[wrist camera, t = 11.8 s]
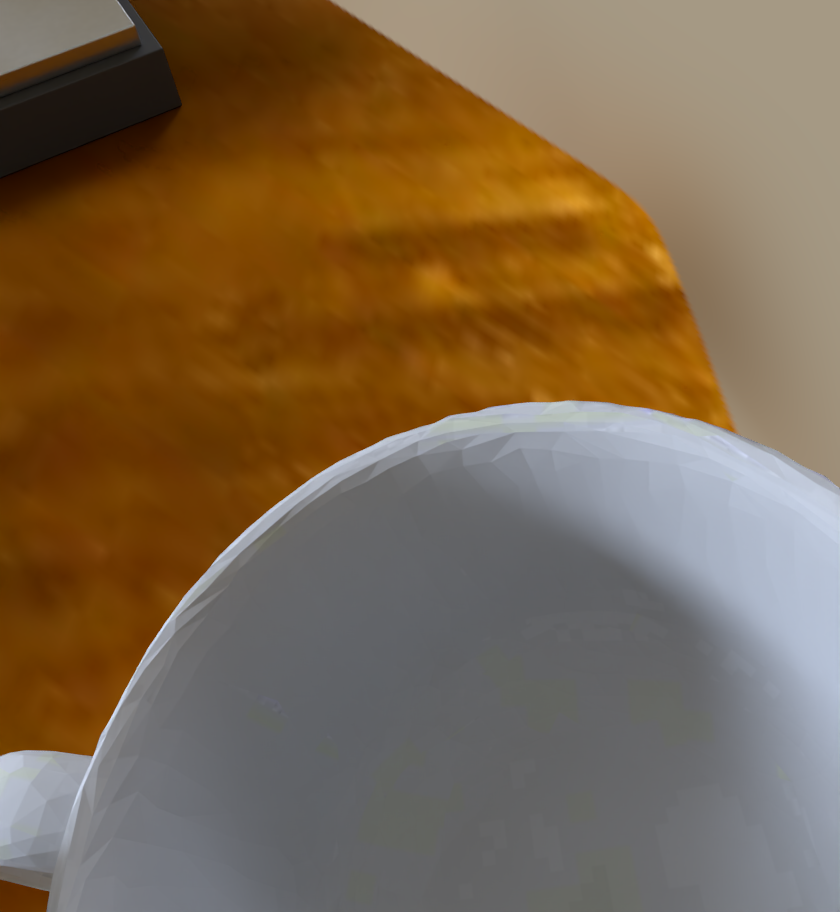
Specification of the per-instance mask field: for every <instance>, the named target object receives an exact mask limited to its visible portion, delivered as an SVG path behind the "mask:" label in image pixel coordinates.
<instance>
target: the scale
mask: <svg viewBox="0 0 840 912" xmlns="http://www.w3.org/2000/svg"><path fill="white" fill-rule="evenodd" d="M181 105H182V103H181V100H180V97H179V94H178V92H177V89H176V86H175V83H174V80H173V77H172V74H171V71H170V68H169V65H168V62H167V59H166V56H165V53H164V50H163V48H162V47H161V45H160V44H159V43H158V41H157V40H156V38H155V37H154V36H153V34H152V33H151V31H150V30H149V29H148V27H147V26H146V24H145V23H144V22H143V20H142V19H141V17H140V16H139V15H138V13H137V12H136V10H135V9H134V8H133V6H132V5H131V4H130V2H129V1H128V0H0V178H1V177H3V176H6V175H8V174H11V173H13V172H16V171H18V170H21V169H24V168H26V167H29V166H31V165H34V164H36V163H39V162H41V161H44V160H46V159H49V158H51V157H54V156H56V155H59V154H61V153H64V152H66V151H69V150H71V149H74V148H76V147H79V146H81V145H84V144H86V143H89V142H91V141H94V140H96V139H99V138H101V137H104V136H106V135H109V134H111V133H114V132H116V131H119V130H121V129H124V128H126V127H129V126H131V125H134V124H136V123H139V122H141V121H144V120H146V119H149V118H151V117H154V116H156V115H159V114H161V113H164V112H166V111H169V110H171V109H174V108H176V107H179V106H181Z"/></svg>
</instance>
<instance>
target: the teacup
mask: <svg viewBox="0 0 840 912" xmlns="http://www.w3.org/2000/svg"><path fill="white" fill-rule="evenodd" d="M0 879H1V880H5V881H9V882H13V883H18V884H22V885H26V886H30V887H34V888H38V889H42V890H46V891H50V894H49V900H48V906H47V912H840V488H839V487H837V486H836V485H835V484H833V483H832V482H831V481H830V480H829V479H828V478H827V477H826V476H823V475H821V474H819V473H817V472H814V471H812V470H810V469H808V468H805V467H803V466H801V465H800V464H798V463H797V462H795V461H793V460H791V459H790V458H788V457H787V456H785V455H783V454H782V453H780V452H778V451H777V450H774V449H772V448H769V447H767V446H765V445H762V444H759V443H757V442H755V441H752V440H750V439H747V438H745V437H743V436H740V435H738V434H735V433H733V432H731V431H728V430H726V429H723V428H720V427H717V426H714V425H711V424H708V423H705V422H702V421H699V420H696V419H687V418H683V417H680V416H677V415H674V414H670V413H665V412H661V411H656V410H652V409H647V408H638V407H628V406H622V405H617V404H612V403H607V402H583V401H562V402H528V403H520V404H511V405H503V406H496V407H489V408H486V409H483V410H481V411H479V412H473V413H465V414H458V415H452V416H448V417H446V418H444V419H442V420H440V421H438V422H436V423H434V424H431V425H427V426H423V427H419V428H416V429H414V430H411V431H408V432H404V433H401V434H398V435H394V436H391V437H387V438H385V439H384V440H382V441H380V442H378V443H377V444H375V445H373V446H370V447H368V448H366V449H364V450H362V451H360V452H358V453H355V454H353V455H351V456H349V457H347V458H345V459H343V460H341V461H339V462H337V463H335V464H334V465H332V466H331V467H329V468H327V469H326V470H324V471H323V472H321V473H319V474H318V475H316V476H315V477H313V478H312V479H310V480H309V481H307V482H306V483H305V484H303V485H302V486H301V487H299V488H298V489H297V490H295V491H294V492H293V493H291V494H290V495H289V496H287V497H286V498H285V499H283V500H282V501H281V502H279V503H278V504H277V505H275V506H274V507H273V508H271V509H270V510H269V511H268V512H267V513H265V514H264V515H263V516H262V517H261V518H259V519H258V520H257V521H256V522H255V523H253V524H252V525H251V526H250V527H249V528H248V529H246V530H245V531H244V532H243V533H242V534H241V535H240V536H239V537H238V538H237V539H236V540H235V541H234V542H233V543H232V544H231V545H230V546H229V547H228V548H227V549H226V550H225V551H224V552H223V553H221V554H220V555H219V556H218V558H217V559H216V560H215V562H214V563H213V564H212V566H211V567H210V568H209V569H208V570H207V572H206V573H205V574H204V575H203V576H202V577H201V578H200V579H199V580H198V581H197V583H196V584H195V585H194V586H193V587H192V588H191V589H190V590H189V591H188V593H187V594H186V595H185V596H184V598H183V599H182V600H181V602H180V603H179V605H178V606H177V607H176V609H175V610H174V611H173V613H172V614H171V616H170V617H169V618H168V620H167V621H166V623H165V624H164V626H163V627H162V629H161V630H160V632H159V633H158V634H157V636H156V637H155V639H154V640H153V642H152V643H151V645H150V646H149V648H148V649H147V651H146V653H145V655H144V656H143V658H142V660H141V662H140V664H139V666H138V667H137V669H136V671H135V673H134V675H133V677H132V679H131V680H130V682H129V684H128V686H127V688H126V690H125V691H124V693H123V695H122V697H121V699H120V701H119V703H118V705H117V707H116V709H115V711H114V713H113V715H112V717H111V719H110V721H109V722H108V724H107V726H106V727H105V729H104V731H103V732H102V734H101V736H100V739H99V741H98V744H97V747H96V750H95V753H94V756H93V757H92V756H85V755H77V754H70V753H63V752H55V751H30V750H25V751H19V752H12V753H8V754H6V755H3V756H1V757H0Z"/></svg>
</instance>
